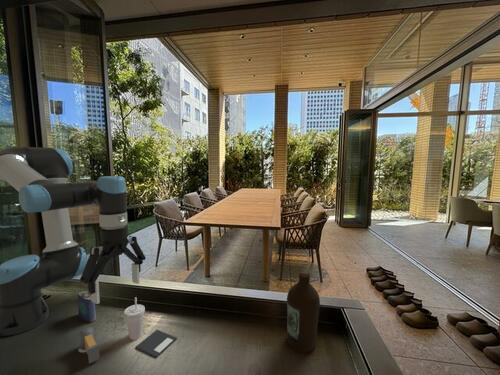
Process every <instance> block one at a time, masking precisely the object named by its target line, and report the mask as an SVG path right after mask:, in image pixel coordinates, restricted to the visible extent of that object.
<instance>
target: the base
mask: <svg viewBox="0 0 500 375" xmlns="http://www.w3.org/2000/svg"><path fill="white" fill-rule="evenodd" d="M94 341H95V343H96V344H98V342H97V341H96V340H95V339H94ZM77 352H78V353H80V354H87V352H86V350H82V349H81V346H80V345H79V346H78V347H77Z"/></svg>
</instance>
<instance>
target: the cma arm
mask: <svg viewBox="0 0 500 375" xmlns="http://www.w3.org/2000/svg"><path fill="white" fill-rule="evenodd" d="M94 336H95V335H94V327H93V326H92V327H91V326H89V327H85V328H83V329H81V330H80V332H79V340H80V345H79V346H81V349H82V350H86V355H87V358H88V359H87V360H88V363H89V364H91V363H94V362H96V361H98V360H99V359H100V345H99V343H97V344H96V343H95V341H96V340H95V338H94ZM94 340H95V341H94Z"/></svg>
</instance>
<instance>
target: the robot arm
mask: <svg viewBox="0 0 500 375" xmlns="http://www.w3.org/2000/svg"><path fill="white" fill-rule="evenodd" d="M72 174H73V162H72V159H71V157H70V155H69V154H68V152H67V151H65V150H64V149H62V148H53V147H39V146H38V147H34V146H33V147H31V146H29V147H28V146H10V147H5V148H3V149H0V180H1V181H5V182H7V183H8V184H9V185H10V186H11V187H13V189H15V190H16V191H17V192H18V202H19V205H20V207H21V210H22V211H23V212H25V213H27V214H29V213H41V218H42V224H43V231H44V237H45V243H46V246H45V248H43V250H42V256H38V254H28V255H21V256H18V257H15V258H12V259H9V260H6V261H5V262H3V263H1V264H0V337H8V336H9V337H10V336H15V335H17V334H21V333H24V332H27V331H30V330H32V329H34V328H36V327H38V326H39V325H41V324H42V323H44V322H45V321H46V320H47V319H48V317H49V316H50V309H49V306H48V304H47V303H46V302H45V300H44V298H43V296H42V290H43V289H45V288H48V287H50V286H54V285H57V284H58V283H59V284H60V283H62V282H65V281H68V280H69V281H71V280H73V279H74V278H76V277H79V276H80V278H79V282H80V283H81V284H82V283H83V284H86V285H87V291H88V294H89V295H90V294H91V295H90V296H91V299H92V302H93V303H95V305H99V304H100V302H101V300H100V285H99V284H100V283H99V280H98V278H99V276H100V275H101V273H102V271H103V270H104V268H105V266H106V265H107V264H108V262H109V261H110V260H111V259H112V258H116V257H117V256H121V255H123V254H124V255H125V256H126V257H127V258H128V259H130V261H132V262H133V263H131V282H132V283H133V284H137V285H138V284H140V273H141V271H142V269H141V265H142V264H143V262H144V261H145V260H146V256H145V254H144V252H143V250H142V249H141V247H140V245H139V243H138V239H137V236H135V235H129V227H128V225H127V224H128V210H127V209H128V201H127V198H128V197H127V190H128V189H127V185H126V178H125V177H123V176H119V175H117V176H116V175H115V176H114V175H113V176H112V175H109V176H104V175H103V176H99V177H98V178H97V180H85V181H79V182H68V181H69V176H71V175H72ZM94 205H95V206H98V214H99V227H101V228H100V229H99V233H100V234H99V235H100V241H101V244H100V246H91V247H90V249H89V256H88V258H87V252H86V250H85V249H84V248H83V247H82V246H81V247H80V246H79V243H78V242H76V241H75V240H74V239H73V233H72V225H71V219H70V212H69V209H71V208H73V209H74V208H79V207H87V206H94ZM128 245H130V247H131V249H132V251H133V252H134V253H133V252H132V251H131V250H130V249H129V248H128Z"/></svg>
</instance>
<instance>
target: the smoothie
mask: <svg viewBox="0 0 500 375" xmlns="http://www.w3.org/2000/svg"><path fill="white" fill-rule="evenodd" d="M137 302H138V298H137V296H136V297H134V304H132V305H130V306H128V307H127V308H125V309H124V310H123V311H124V312H123V313H124V314H123V316H124V317H125V321H126V326H127V331H128V338H129V339H130V340H131V341H136V340H138V339H140V338H142V334H143V332H142V331H143V324H144V315H145V314H144V313H145V312H146V308H145V305H143V304H138V303H137Z"/></svg>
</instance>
